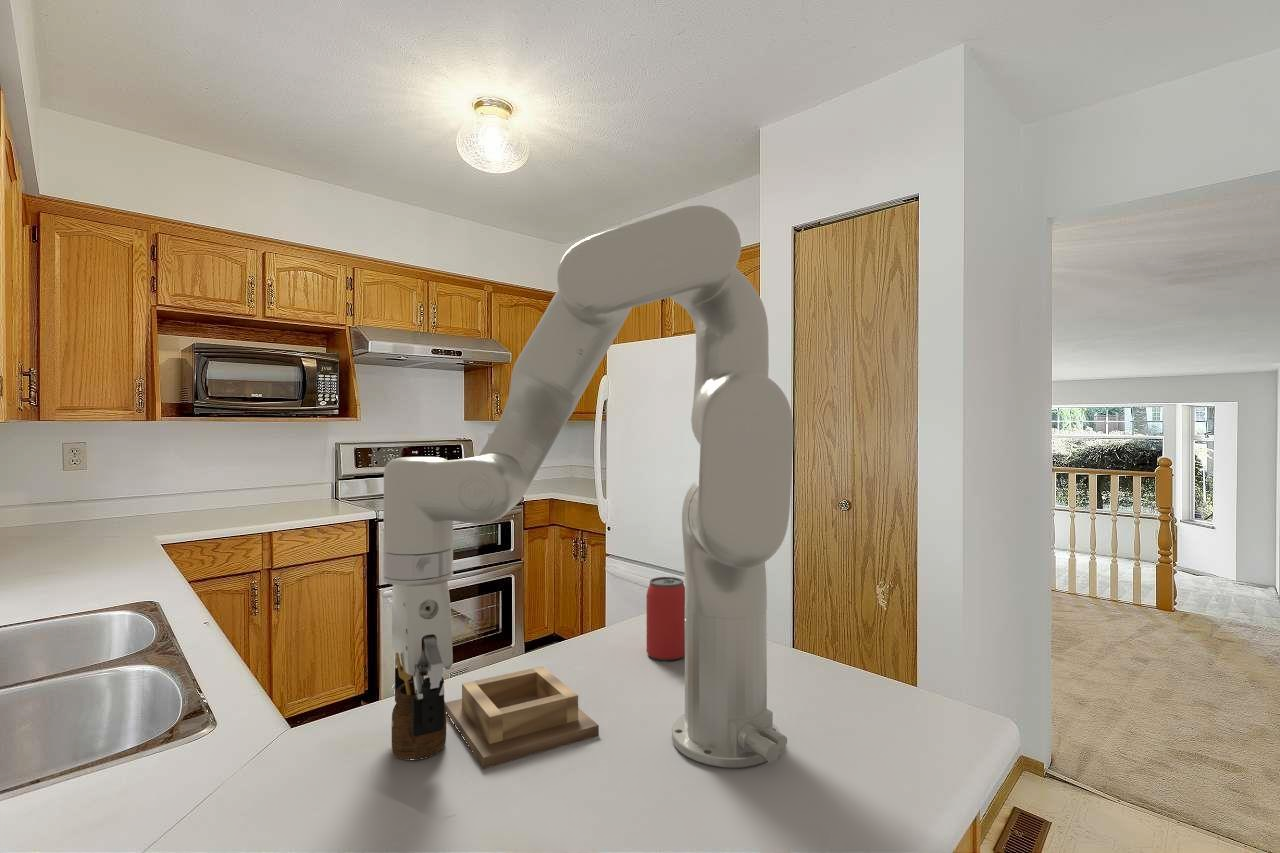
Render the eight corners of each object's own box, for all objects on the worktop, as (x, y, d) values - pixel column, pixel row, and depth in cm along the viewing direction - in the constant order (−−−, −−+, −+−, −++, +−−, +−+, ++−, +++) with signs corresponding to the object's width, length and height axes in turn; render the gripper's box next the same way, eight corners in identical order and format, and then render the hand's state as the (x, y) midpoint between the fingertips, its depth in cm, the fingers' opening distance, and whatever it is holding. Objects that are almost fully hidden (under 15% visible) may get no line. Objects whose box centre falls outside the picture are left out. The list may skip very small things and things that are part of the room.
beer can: (694, 652, 102) (694, 579, 103) (674, 665, 97) (674, 587, 97) (659, 645, 106) (659, 574, 106) (638, 657, 100) (638, 582, 100)
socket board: (598, 735, 75) (598, 699, 75) (483, 768, 67) (483, 729, 67) (545, 688, 88) (545, 658, 88) (444, 711, 81) (444, 679, 81)
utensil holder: (456, 739, 74) (456, 637, 74) (424, 767, 68) (424, 655, 68) (413, 733, 75) (413, 633, 75) (378, 759, 69) (378, 650, 69)
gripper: (473, 575, 66) (473, 738, 66) (433, 549, 81) (433, 682, 81) (399, 585, 62) (398, 757, 62) (371, 555, 77) (370, 695, 77)
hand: (418, 714), depth 71 cm, fingers open, 9 cm apart
